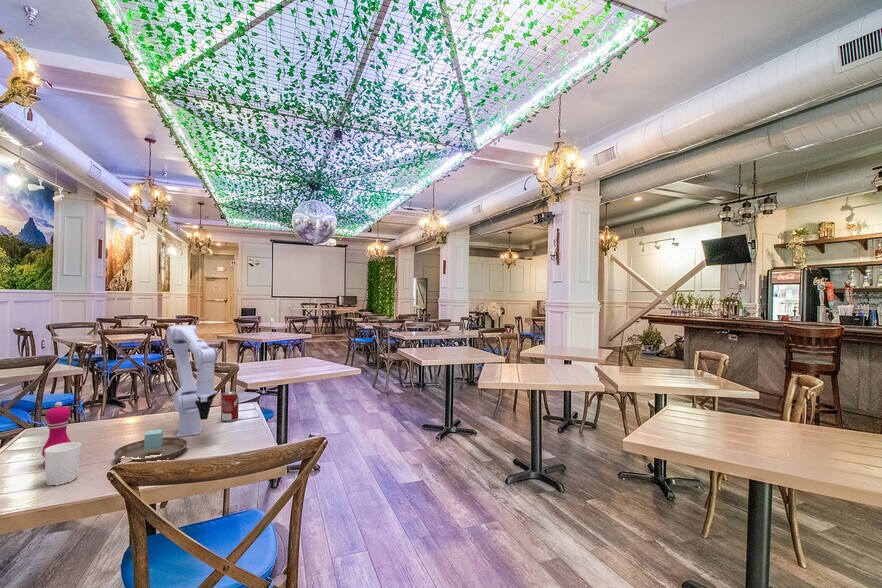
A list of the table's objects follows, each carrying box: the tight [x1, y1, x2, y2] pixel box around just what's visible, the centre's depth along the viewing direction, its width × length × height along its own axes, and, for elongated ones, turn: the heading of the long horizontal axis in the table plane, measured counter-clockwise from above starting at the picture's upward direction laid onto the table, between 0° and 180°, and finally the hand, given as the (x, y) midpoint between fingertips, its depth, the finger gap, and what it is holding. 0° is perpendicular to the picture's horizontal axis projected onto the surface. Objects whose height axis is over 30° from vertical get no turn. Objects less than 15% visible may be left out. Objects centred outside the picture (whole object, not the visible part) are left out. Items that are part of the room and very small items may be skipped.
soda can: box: [220, 391, 240, 423], centre depth 180 cm, size 7×7×12 cm
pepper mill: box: [41, 401, 72, 468], centre depth 132 cm, size 7×7×20 cm
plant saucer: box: [113, 436, 188, 462], centre depth 140 cm, size 21×21×3 cm
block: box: [143, 429, 164, 450], centre depth 140 cm, size 4×4×5 cm
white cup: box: [44, 441, 82, 486], centre depth 120 cm, size 8×8×10 cm
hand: (204, 416), depth 154 cm, fingers open, 7 cm apart
